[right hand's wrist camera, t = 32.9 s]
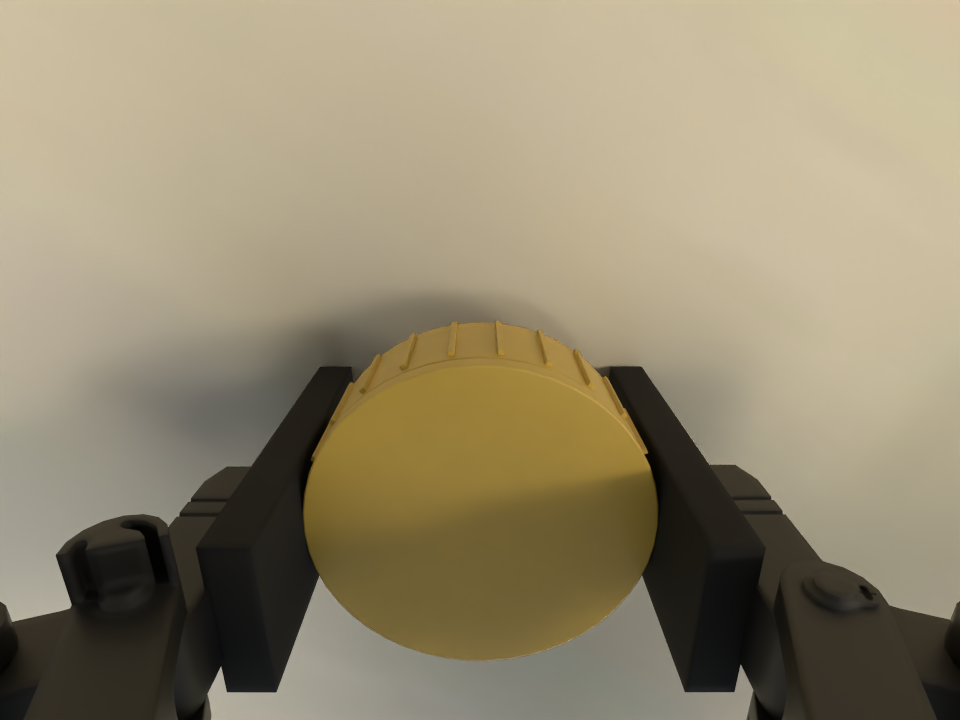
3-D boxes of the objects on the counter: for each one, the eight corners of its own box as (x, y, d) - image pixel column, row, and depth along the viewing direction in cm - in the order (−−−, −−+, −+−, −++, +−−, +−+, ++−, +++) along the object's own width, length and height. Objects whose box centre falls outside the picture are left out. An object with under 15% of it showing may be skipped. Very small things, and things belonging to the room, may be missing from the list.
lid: (355, 284, 11) (325, 321, 9) (675, 358, 11) (718, 409, 9) (310, 552, 13) (278, 631, 11) (579, 603, 14) (597, 688, 12)
